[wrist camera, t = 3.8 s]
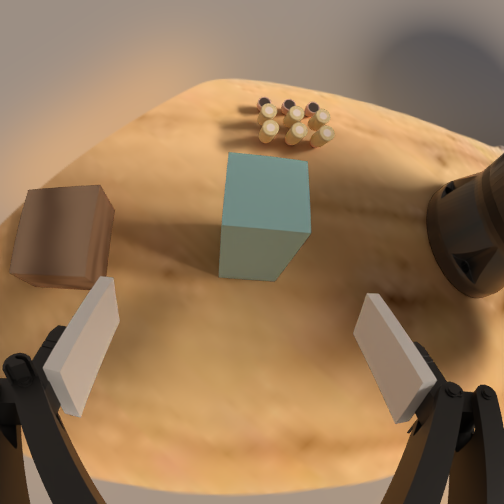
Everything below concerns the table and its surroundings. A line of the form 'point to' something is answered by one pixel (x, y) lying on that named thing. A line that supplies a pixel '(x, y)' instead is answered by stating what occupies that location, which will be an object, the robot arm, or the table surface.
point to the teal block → (263, 215)
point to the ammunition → (294, 122)
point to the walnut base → (63, 237)
